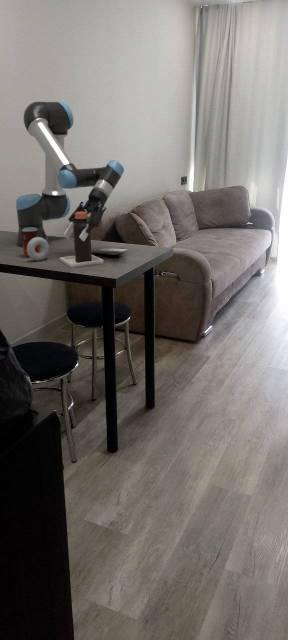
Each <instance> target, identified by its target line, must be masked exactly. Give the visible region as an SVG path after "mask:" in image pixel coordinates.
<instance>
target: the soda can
mask: <svg viewBox="0 0 288 640" xmlns="http://www.w3.org/2000/svg"><path fill="white" fill-rule="evenodd" d="M35 237H39V236H38V229H36V228H34V227H27V228H24V229H22V241H23V246H22V247H23V254H24V256H25V257H26V258H30V257H29V255H28V253H27V245H28V243H29V242H30V240H31V239H33V238H35ZM35 251H36V252H37V253H39V252H40V251H41V246H39V245H37V246H36V247H35Z"/></svg>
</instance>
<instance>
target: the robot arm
mask: <svg viewBox="0 0 288 640" xmlns="http://www.w3.org/2000/svg"><path fill="white" fill-rule="evenodd" d="M23 125H24V127H25V129H26V131H27V132H28V134H29V135H30V136H31V137H34V139H35V140H36V141H37V143H38V144H39V146H40V148H41V149H42V151H43V152H44V154H45V155H44V156H45V157H44V159H45V161H44V163H45V164H44V165H45V166H44V167H45V168H44V170H45V172H44V184H45V185H44V189H42V190H41V194H39V193H31V194H24V195H21V196H19V197H17V198H16V200H15V201H16V203H15V204H16V205H15V206H16V207H15V208H16V214H17V216H16V217H17V223H18V230H17V236H16V240H15V241H16V246H17V247H23V241H22V229H24V228H27V227H34V228H36V229H38V236H39V237H41V238H44V239H45V240H46V241H47V243H48V244H49V238H48V236H47V234H46V230H45V229H44V224H43V221H48V220H49V221H51V220H60V219H63V218H66V217H67V215H68V214H69V213H70V210H71V200H70V198H69V196H68V194H67V191H65V190H64V189H67V190H69V189H70V190H72V189H78V188H79V189H80V188H88V187H91V188H92V187H93V188H92V189H91V190H90V192H89V193H88V196H87V197H88V199H87V201H86V202H84V201H80V202H79V205H78V206H77V207H76V209H75V210H74V211H73V213H71V214H70V216H69V217H68V219H67V220H68V221H69V223H68V226H67V227H66V230H65V231H64V233H63V236H64V237H66V239H68V240H69V239H70V237H71V235H72V233H74V230H73V225H74V224H75V223H76V220H75V219H76V218H75V213H76V212H87V216H88V215H89V214H90V216H89V221H88V223H89V224H87V227H86V228H85V229H84V230H83V231H82V233H81V235H80V236H79V238H80V239H81V240H82V241H85V239H86V237H87V236H88V234H89V233H91V232H92V231H93V229H94V228H95V227H96V228H98V227H99V226H100V223H101V220H102V218H103V215H104V213H105V212H106V210H107V207H106V203H107V201H108V200H109V198H110V196H111V194H112V193H113V192H114V190H115V188H116V186H117V184H118V183H119V181H120V180H121V178H122V176H123V174H124V172H125V168H124V166H123V165H122V164H121V162H119V161H118V160H116V159H111V160H109V161H108V163H107V164H106V166H102V167H91V168H89V167H88V168H77V167H76V166H75V164H74V162H73V161H72V160H71V158H70V157H69V156H68V153H67V152H66V151H65V138H66V137H67V136H68V130H71V128H72V127H73V125H74V115H73V111H72V109H71V108H70V106H69V105H68V104H67V103H65V102H60V101H33V102H32V103H30V104H29V105H27V107H25V110H24V112H23ZM39 247H41V246H40V245H39Z"/></svg>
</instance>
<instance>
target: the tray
mask: <svg viewBox="0 0 288 640" xmlns="http://www.w3.org/2000/svg"><path fill="white" fill-rule="evenodd" d="M59 262H61V263H63V264H64V265H66V266H67V267H69V268H71V269H75V268H81V267H88V266H94V265H103V264H104V259H102V258H100V257H98V256H95V255H94V254H92V261H88V262H81V263H77V262H76V261H75V255H70V256H69V255H68V256H64V257H63V256H62V257H59Z"/></svg>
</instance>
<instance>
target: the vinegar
mask: <svg viewBox="0 0 288 640" xmlns="http://www.w3.org/2000/svg"><path fill="white" fill-rule="evenodd" d="M75 218H76V219H75V220H76V223H75V224H74V225H73V230H74V231H73V243H74V256H75V261H76V262H77V263H81V262H88V261H92V255H93V254H92V237H91V236H92V234H91V232H90V233H89V234H88V236H87V237H86V239H85V241H82V240H81V239H80V238H79V236H80V235H81V233H82V231H83V230H84V229H85V228H86V227H87V224H89V221H88V215H87V211H86V212H76V213H75Z"/></svg>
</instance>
